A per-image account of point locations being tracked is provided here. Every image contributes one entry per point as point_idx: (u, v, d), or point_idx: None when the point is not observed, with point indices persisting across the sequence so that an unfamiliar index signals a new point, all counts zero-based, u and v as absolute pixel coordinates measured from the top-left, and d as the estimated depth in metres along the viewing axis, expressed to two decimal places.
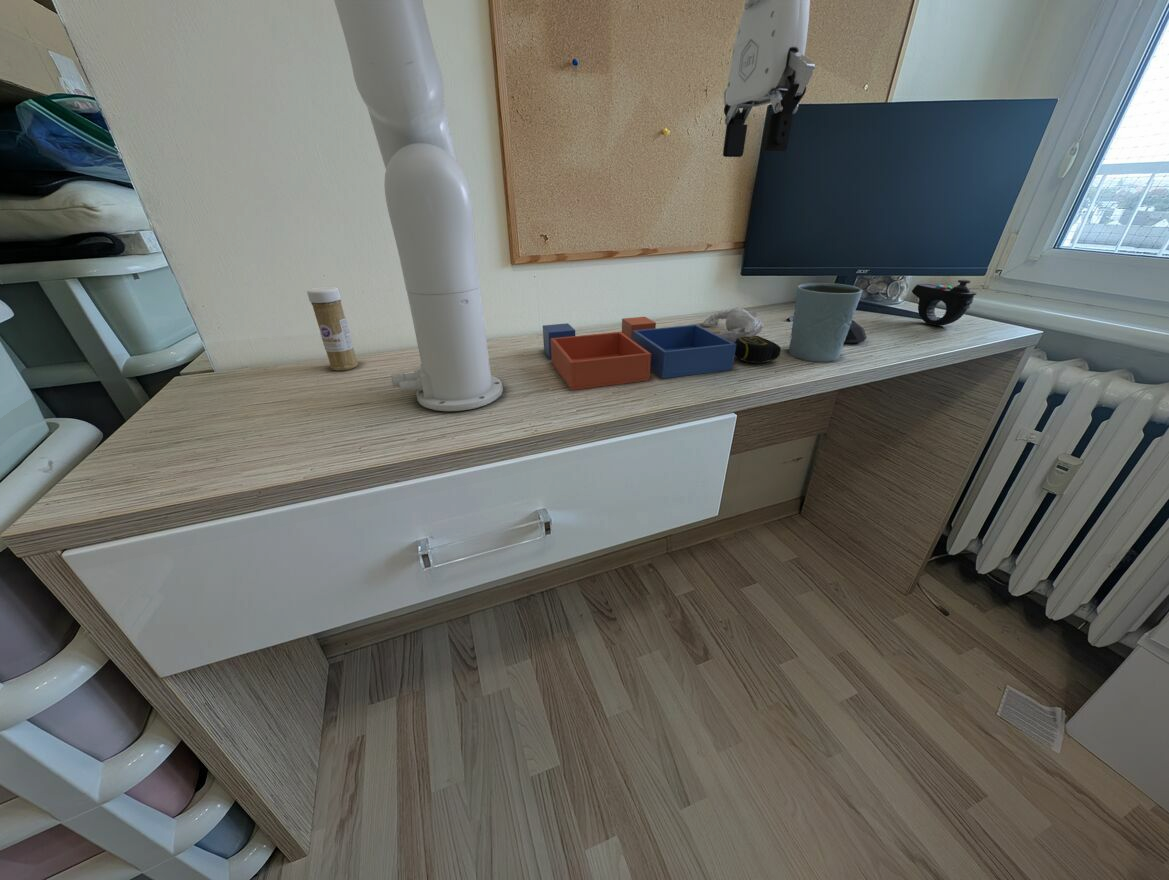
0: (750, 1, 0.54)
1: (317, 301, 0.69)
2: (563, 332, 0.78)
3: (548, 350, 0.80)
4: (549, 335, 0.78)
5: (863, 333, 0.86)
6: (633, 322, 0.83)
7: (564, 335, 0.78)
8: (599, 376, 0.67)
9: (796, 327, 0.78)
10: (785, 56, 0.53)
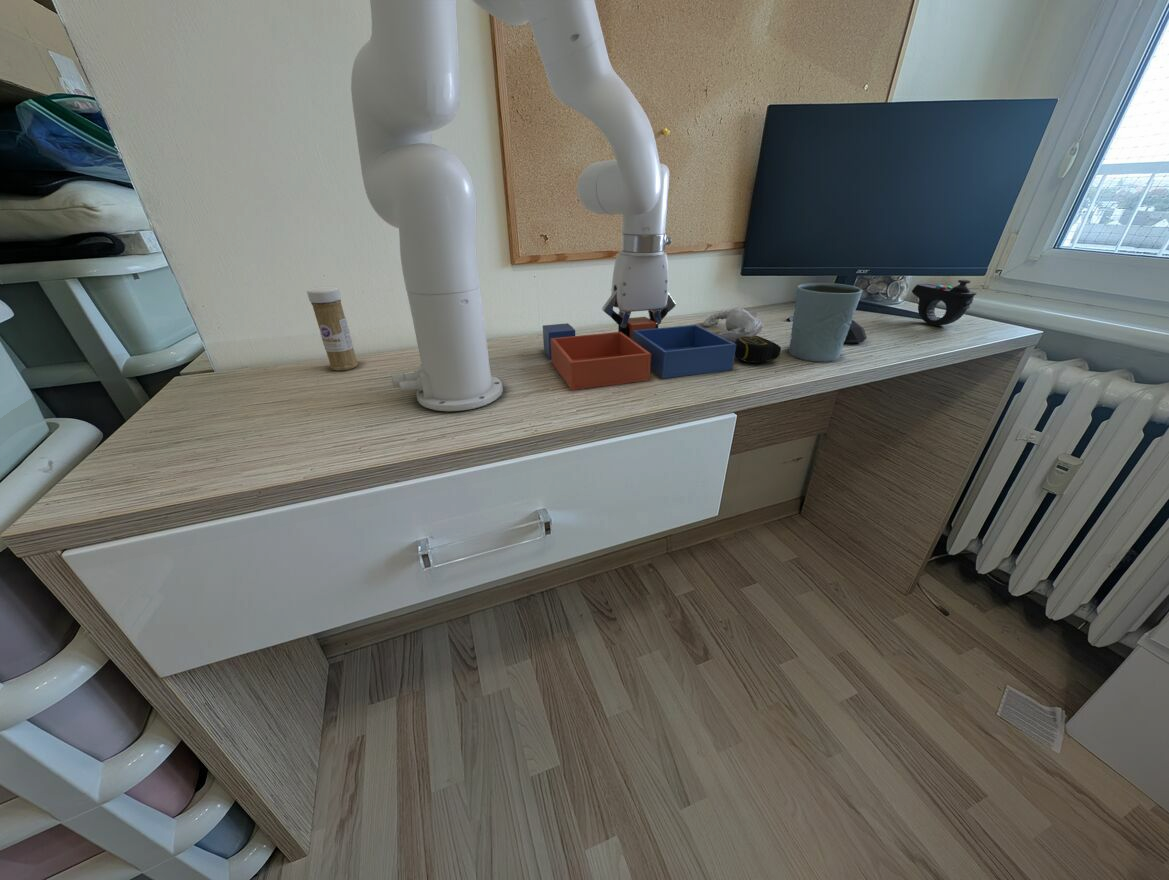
0: None
1: (318, 301, 0.69)
2: (563, 332, 0.78)
3: (548, 350, 0.80)
4: (549, 335, 0.78)
5: (863, 333, 0.86)
6: (633, 322, 0.83)
7: (564, 335, 0.78)
8: (599, 376, 0.67)
9: (796, 327, 0.78)
10: (613, 289, 0.81)
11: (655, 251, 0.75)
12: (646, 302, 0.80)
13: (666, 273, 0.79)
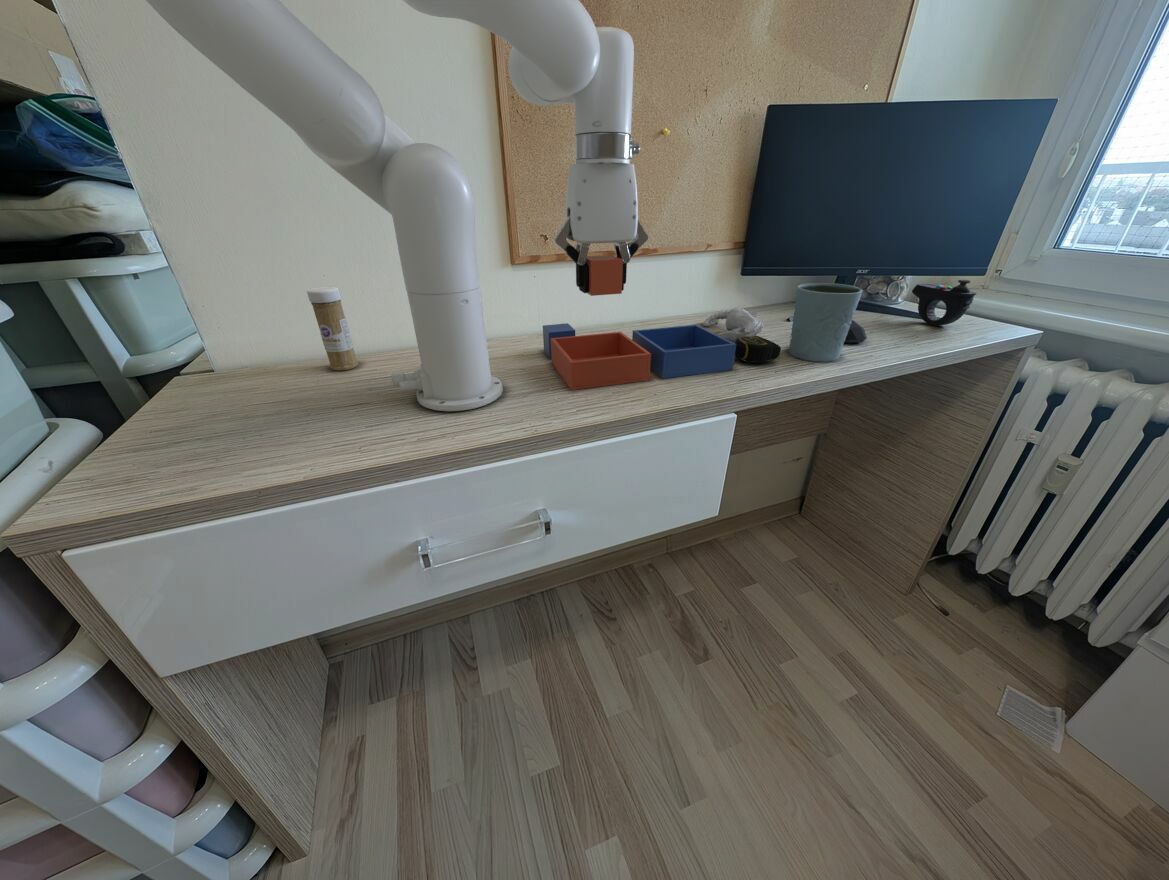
0: None
1: (318, 301, 0.69)
2: (563, 332, 0.78)
3: (548, 350, 0.80)
4: (549, 335, 0.78)
5: (863, 333, 0.86)
6: (594, 258, 0.65)
7: (564, 335, 0.78)
8: (599, 376, 0.67)
9: (796, 327, 0.78)
10: (566, 214, 0.63)
11: (617, 156, 0.57)
12: (609, 230, 0.62)
13: (634, 191, 0.61)
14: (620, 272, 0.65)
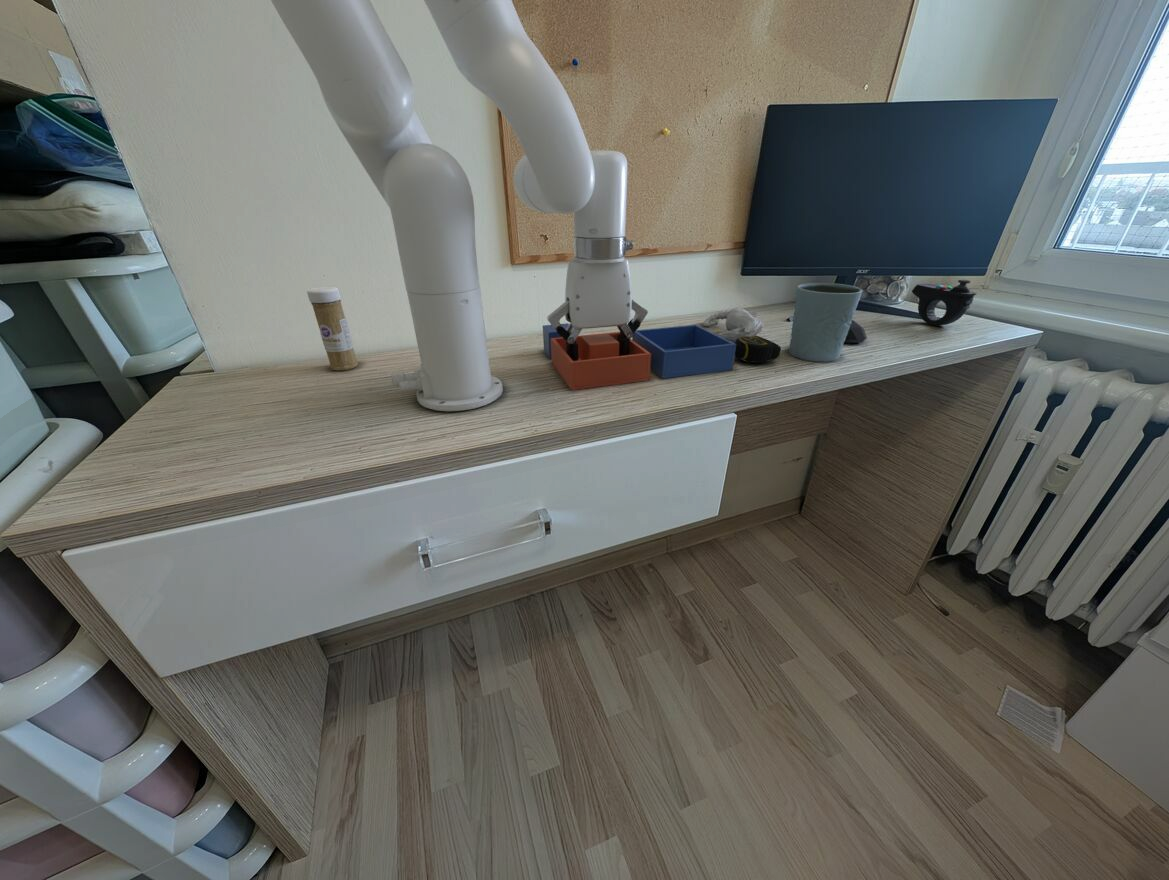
0: None
1: (318, 301, 0.69)
2: None
3: (548, 350, 0.80)
4: (549, 335, 0.78)
5: (863, 333, 0.86)
6: (593, 342, 0.70)
7: None
8: (599, 376, 0.67)
9: (796, 327, 0.78)
10: (566, 302, 0.68)
11: (612, 257, 0.62)
12: (605, 317, 0.68)
13: (628, 283, 0.66)
14: (617, 353, 0.71)
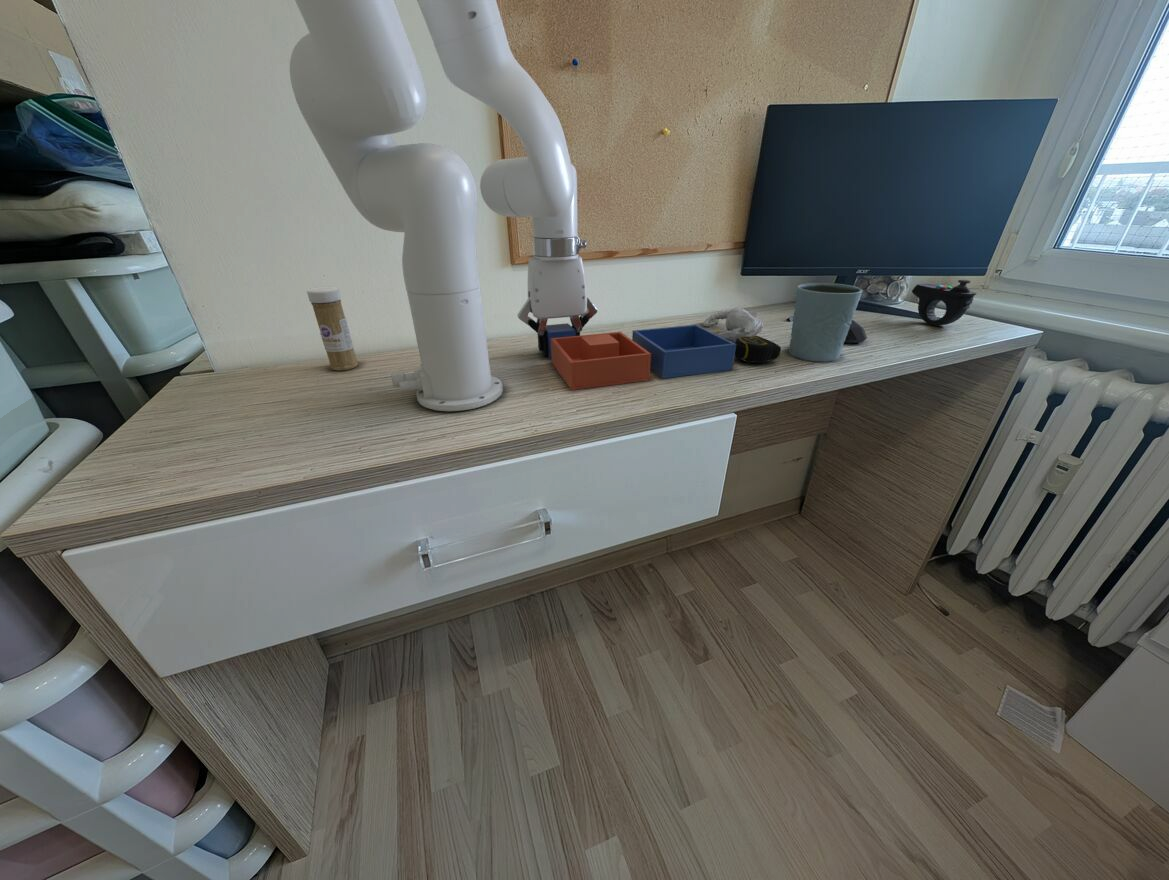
0: None
1: (317, 301, 0.69)
2: (563, 332, 0.78)
3: (548, 350, 0.80)
4: (549, 335, 0.78)
5: (863, 333, 0.86)
6: (593, 342, 0.70)
7: (564, 335, 0.78)
8: (599, 376, 0.67)
9: (796, 327, 0.78)
10: (528, 295, 0.77)
11: (566, 255, 0.71)
12: (562, 309, 0.76)
13: (582, 278, 0.75)
14: (617, 353, 0.71)
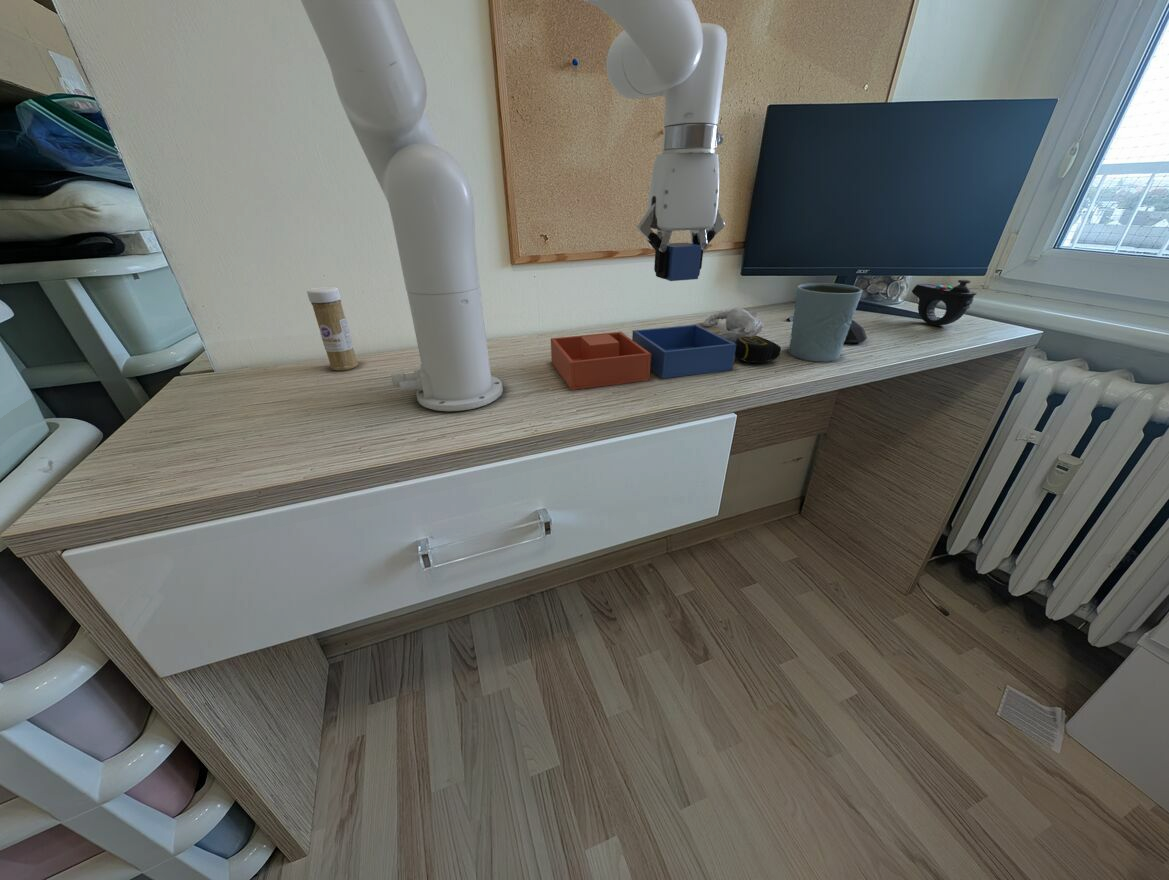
0: None
1: (318, 301, 0.69)
2: (688, 248, 0.67)
3: (668, 270, 0.69)
4: (673, 250, 0.67)
5: (863, 333, 0.86)
6: (593, 342, 0.70)
7: (689, 251, 0.68)
8: (599, 376, 0.67)
9: (796, 327, 0.78)
10: (650, 203, 0.66)
11: (706, 146, 0.60)
12: (691, 218, 0.65)
13: (717, 180, 0.64)
14: (617, 353, 0.71)
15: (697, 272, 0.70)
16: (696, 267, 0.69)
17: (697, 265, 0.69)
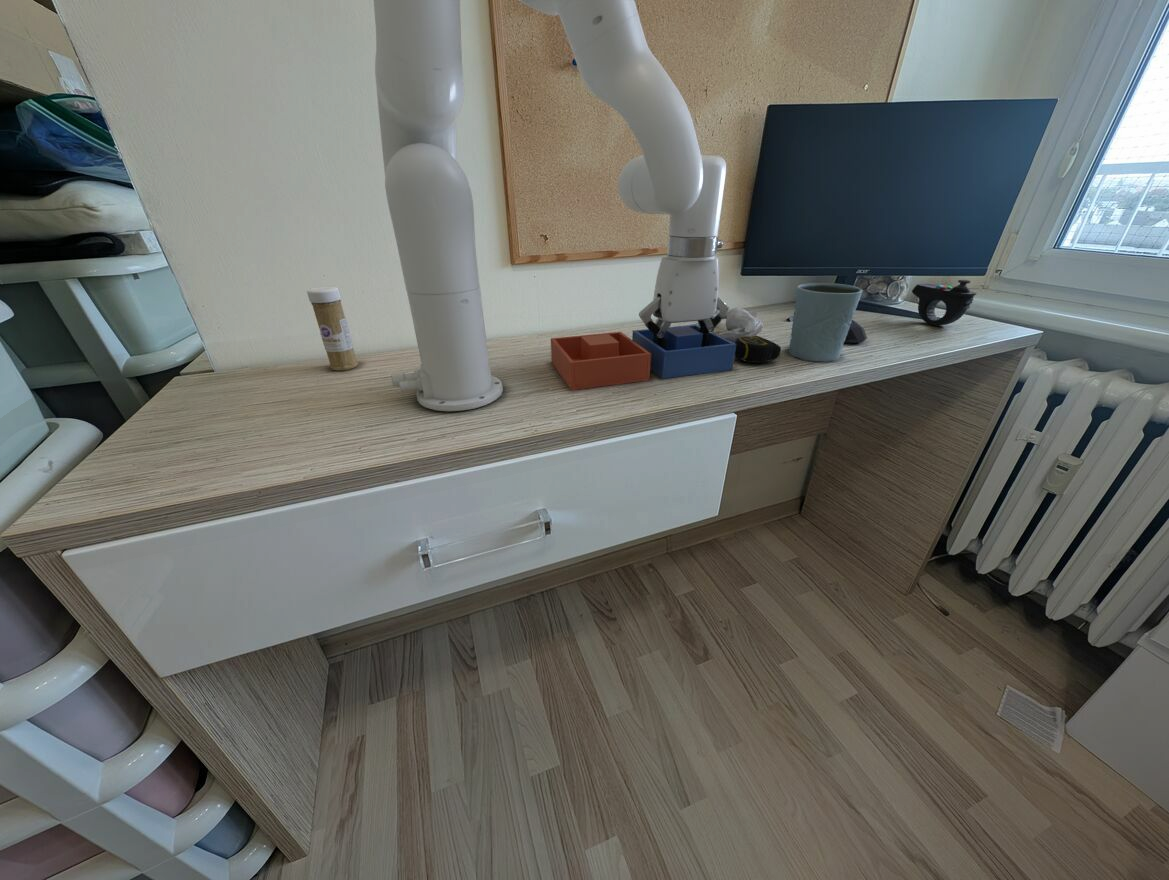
0: None
1: (318, 301, 0.69)
2: (691, 336, 0.74)
3: None
4: (677, 339, 0.73)
5: (863, 333, 0.86)
6: (593, 342, 0.70)
7: (691, 339, 0.74)
8: (599, 376, 0.67)
9: (796, 327, 0.78)
10: (655, 298, 0.72)
11: (707, 256, 0.66)
12: (693, 312, 0.72)
13: (716, 280, 0.70)
14: (617, 353, 0.71)
15: None
16: None
17: None
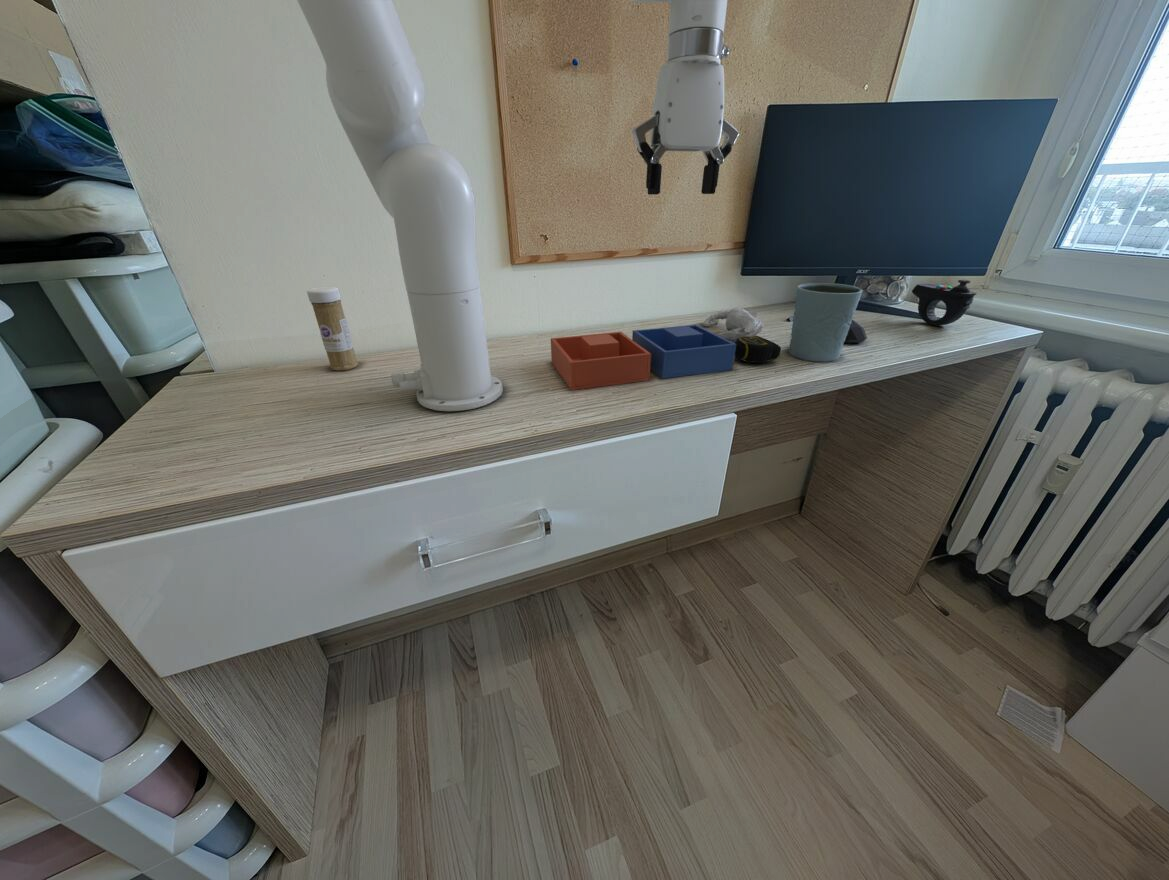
0: None
1: (318, 301, 0.69)
2: (691, 336, 0.74)
3: None
4: (677, 339, 0.73)
5: (863, 333, 0.86)
6: (593, 342, 0.70)
7: (691, 339, 0.74)
8: (599, 376, 0.67)
9: (796, 327, 0.78)
10: None
11: (712, 54, 0.58)
12: (696, 135, 0.64)
13: (722, 94, 0.62)
14: (617, 353, 0.71)
15: None
16: None
17: None
